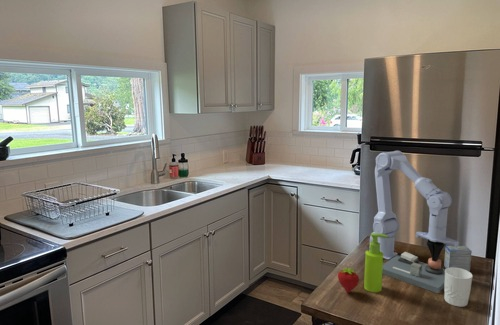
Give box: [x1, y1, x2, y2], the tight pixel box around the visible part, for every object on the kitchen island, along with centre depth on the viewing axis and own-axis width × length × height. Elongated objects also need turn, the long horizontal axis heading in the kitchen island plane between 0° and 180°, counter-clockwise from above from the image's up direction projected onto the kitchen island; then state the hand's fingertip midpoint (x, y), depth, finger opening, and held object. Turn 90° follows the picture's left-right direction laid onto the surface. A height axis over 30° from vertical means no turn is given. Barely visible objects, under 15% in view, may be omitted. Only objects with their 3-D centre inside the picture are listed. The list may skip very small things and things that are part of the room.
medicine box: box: [443, 245, 472, 272], centre depth 146 cm, size 8×4×9 cm, turn 84°
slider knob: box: [410, 263, 422, 277], centre depth 138 cm, size 3×3×4 cm
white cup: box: [443, 268, 474, 308], centre depth 123 cm, size 8×8×10 cm
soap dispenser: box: [363, 232, 388, 293], centre depth 131 cm, size 6×7×20 cm
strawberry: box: [337, 267, 360, 293], centre depth 130 cm, size 6×8×10 cm
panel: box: [382, 254, 446, 294], centre depth 142 cm, size 22×16×3 cm
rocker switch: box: [400, 251, 419, 263], centre depth 148 cm, size 5×4×1 cm
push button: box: [427, 257, 442, 269], centre depth 141 cm, size 4×4×2 cm
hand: (434, 260), depth 140 cm, fingers closed, pressing on push button
